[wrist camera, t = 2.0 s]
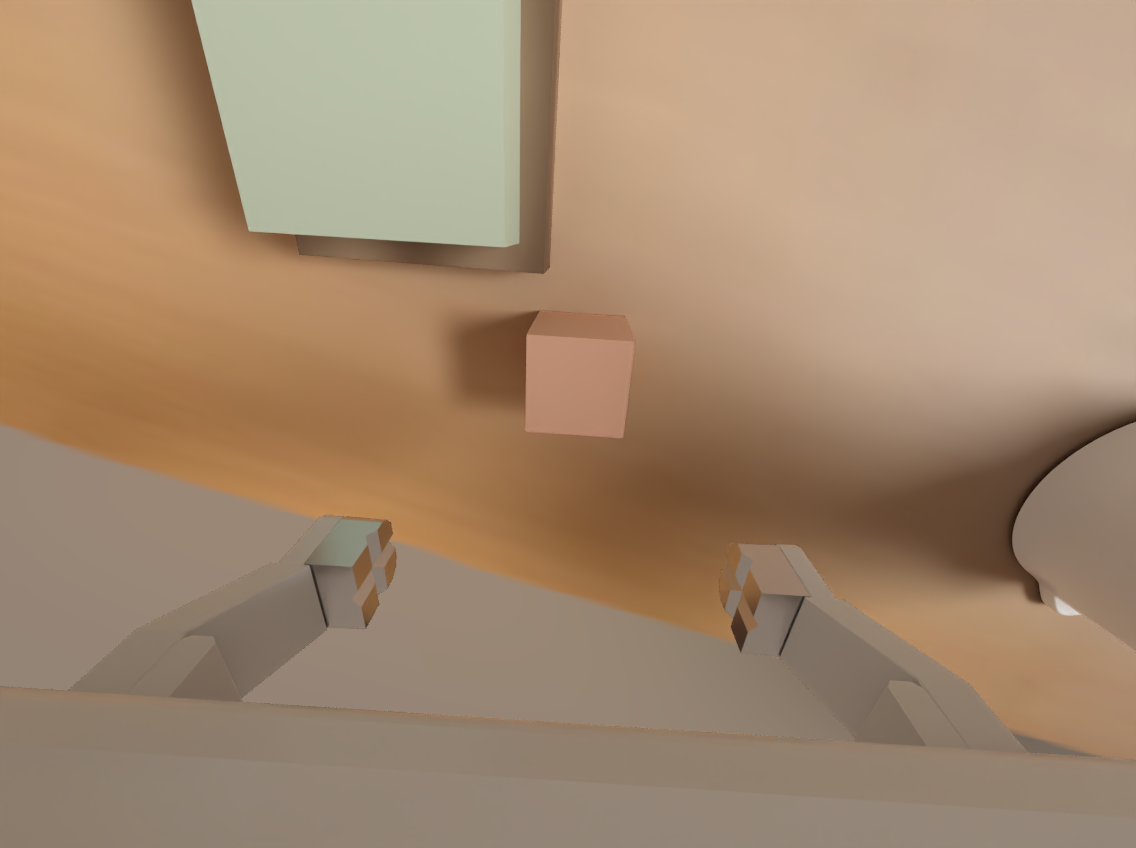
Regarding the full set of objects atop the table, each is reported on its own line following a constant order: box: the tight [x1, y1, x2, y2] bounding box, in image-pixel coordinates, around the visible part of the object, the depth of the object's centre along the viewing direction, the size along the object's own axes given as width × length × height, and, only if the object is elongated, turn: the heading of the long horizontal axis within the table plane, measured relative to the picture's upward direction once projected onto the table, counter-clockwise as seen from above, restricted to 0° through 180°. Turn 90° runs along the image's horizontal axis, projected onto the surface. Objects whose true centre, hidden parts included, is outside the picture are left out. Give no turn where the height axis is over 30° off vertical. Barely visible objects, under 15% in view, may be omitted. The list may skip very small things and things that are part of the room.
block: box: [525, 311, 635, 438], centre depth 23 cm, size 5×5×6 cm
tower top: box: [191, 0, 521, 247], centre depth 15 cm, size 10×14×4 cm
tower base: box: [295, 0, 562, 274], centre depth 19 cm, size 12×16×4 cm
